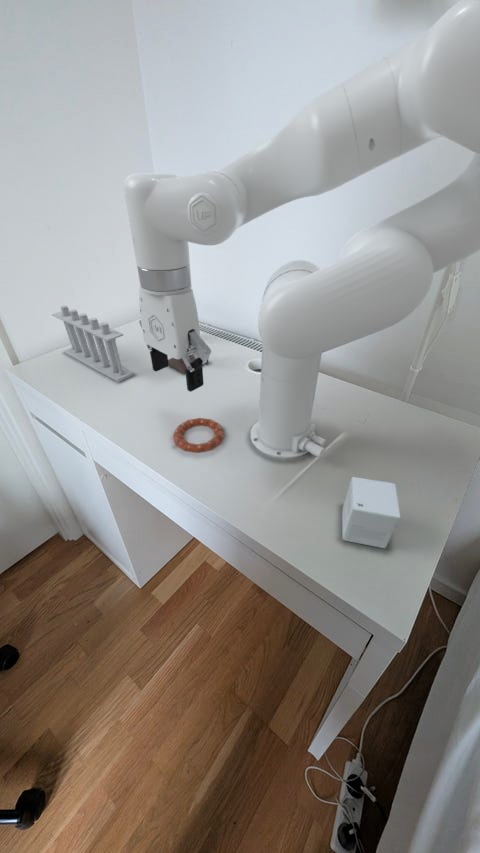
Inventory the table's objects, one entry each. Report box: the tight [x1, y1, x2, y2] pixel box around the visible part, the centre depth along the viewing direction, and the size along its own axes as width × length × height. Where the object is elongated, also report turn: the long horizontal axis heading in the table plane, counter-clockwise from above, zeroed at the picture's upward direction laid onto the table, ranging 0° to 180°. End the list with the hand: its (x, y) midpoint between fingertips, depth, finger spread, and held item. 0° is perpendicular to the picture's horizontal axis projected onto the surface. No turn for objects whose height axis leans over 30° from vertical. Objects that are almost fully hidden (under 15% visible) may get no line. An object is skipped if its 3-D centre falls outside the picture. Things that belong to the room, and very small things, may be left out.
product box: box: [341, 476, 401, 549], centre depth 48 cm, size 6×6×7 cm
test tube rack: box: [51, 305, 134, 383], centre depth 85 cm, size 25×4×13 cm, turn 51°
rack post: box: [168, 349, 209, 375], centre depth 86 cm, size 8×8×11 cm
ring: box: [172, 417, 225, 454], centre depth 65 cm, size 10×10×2 cm
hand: (177, 377), depth 61 cm, fingers open, 9 cm apart
